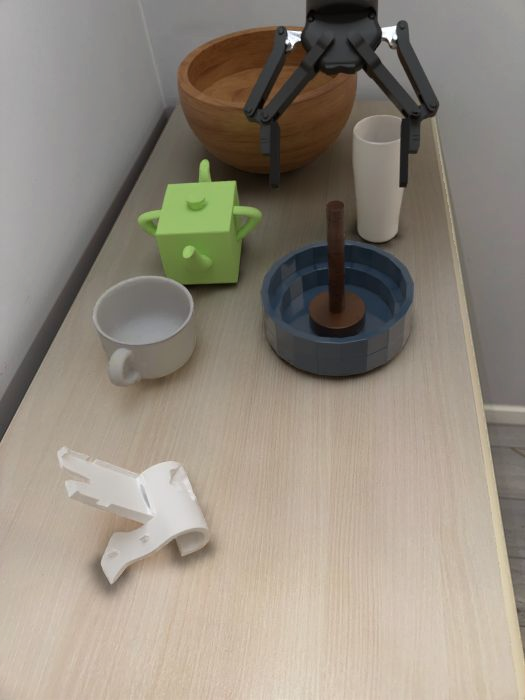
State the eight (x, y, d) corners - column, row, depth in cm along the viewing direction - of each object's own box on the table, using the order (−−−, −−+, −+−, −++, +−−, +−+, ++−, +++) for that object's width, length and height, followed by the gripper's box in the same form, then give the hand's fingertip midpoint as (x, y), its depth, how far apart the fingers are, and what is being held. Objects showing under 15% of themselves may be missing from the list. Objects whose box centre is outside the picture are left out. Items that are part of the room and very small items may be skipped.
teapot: (214, 216, 95) (203, 149, 87) (284, 254, 88) (279, 184, 80) (131, 273, 88) (110, 206, 80) (199, 318, 81) (184, 249, 74)
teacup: (143, 314, 83) (127, 264, 77) (220, 336, 79) (210, 286, 73) (76, 396, 75) (53, 348, 69) (158, 426, 71) (141, 377, 65)
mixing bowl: (429, 298, 80) (434, 259, 76) (378, 399, 71) (380, 362, 66) (303, 265, 86) (300, 227, 82) (240, 354, 77) (234, 316, 72)
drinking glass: (351, 216, 92) (352, 114, 81) (402, 216, 91) (409, 112, 80) (351, 248, 88) (351, 145, 77) (404, 248, 87) (412, 143, 76)
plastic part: (213, 544, 61) (193, 476, 53) (107, 588, 59) (69, 525, 51) (187, 479, 66) (166, 407, 58) (89, 517, 64) (51, 449, 56)
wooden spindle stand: (373, 309, 79) (378, 194, 67) (352, 347, 75) (353, 231, 63) (323, 295, 81) (319, 181, 69) (300, 331, 77) (291, 217, 66)
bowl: (222, 114, 115) (209, 23, 103) (369, 122, 108) (371, 26, 97) (170, 201, 99) (147, 104, 88) (338, 216, 93) (337, 114, 81)
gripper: (460, -9, 72) (454, 191, 73) (232, 3, 76) (229, 193, 77) (471, -46, 65) (464, 176, 66) (218, -31, 69) (215, 180, 70)
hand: (338, 186), depth 72 cm, fingers open, 13 cm apart
